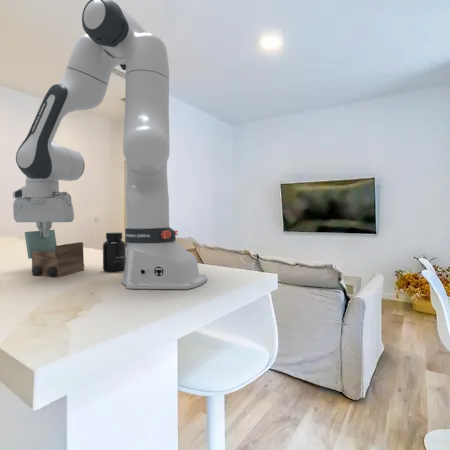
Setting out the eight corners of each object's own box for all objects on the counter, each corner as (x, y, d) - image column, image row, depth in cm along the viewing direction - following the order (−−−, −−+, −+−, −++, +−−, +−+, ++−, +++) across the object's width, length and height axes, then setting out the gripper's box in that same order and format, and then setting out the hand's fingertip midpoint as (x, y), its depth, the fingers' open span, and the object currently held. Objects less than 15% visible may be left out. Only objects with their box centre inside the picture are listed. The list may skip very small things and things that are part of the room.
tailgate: (57, 253, 101) (54, 229, 101) (31, 258, 92) (27, 231, 91) (54, 254, 102) (50, 230, 102) (26, 259, 92) (22, 232, 92)
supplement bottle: (121, 272, 94) (120, 233, 94) (99, 272, 94) (98, 233, 94) (129, 268, 101) (128, 231, 100) (108, 268, 101) (107, 232, 101)
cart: (85, 269, 99) (84, 241, 99) (56, 277, 88) (55, 246, 88) (61, 268, 102) (60, 241, 102) (30, 275, 91) (28, 245, 90)
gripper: (78, 192, 96) (79, 236, 96) (26, 194, 101) (28, 236, 102) (62, 190, 90) (63, 238, 90) (8, 192, 95) (10, 237, 96)
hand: (44, 237), depth 96 cm, fingers closed
